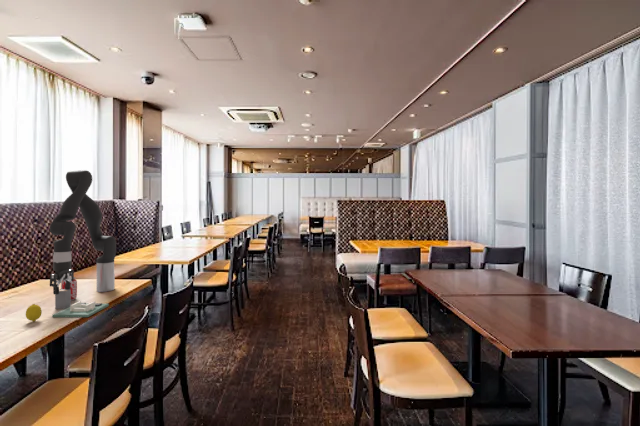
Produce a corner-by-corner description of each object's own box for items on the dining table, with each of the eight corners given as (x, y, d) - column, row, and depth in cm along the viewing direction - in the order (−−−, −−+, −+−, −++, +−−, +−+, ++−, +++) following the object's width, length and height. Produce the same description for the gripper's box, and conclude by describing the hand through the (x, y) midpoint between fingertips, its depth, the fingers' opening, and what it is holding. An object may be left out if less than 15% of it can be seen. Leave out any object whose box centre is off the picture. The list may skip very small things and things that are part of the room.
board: (77, 305, 181) (77, 297, 180) (108, 305, 182) (108, 297, 181) (52, 317, 163) (52, 308, 162) (87, 317, 164) (87, 308, 163)
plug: (60, 306, 179) (60, 289, 179) (70, 306, 179) (70, 289, 179) (55, 308, 175) (55, 290, 175) (65, 308, 175) (65, 291, 175)
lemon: (31, 319, 159) (31, 302, 159) (44, 319, 159) (44, 302, 159) (22, 323, 153) (22, 305, 153) (35, 323, 154) (35, 305, 154)
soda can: (68, 302, 187) (68, 279, 186) (57, 301, 188) (57, 279, 188) (80, 298, 194) (80, 277, 193) (69, 297, 195) (69, 276, 195)
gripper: (64, 258, 183) (64, 288, 184) (44, 262, 169) (44, 295, 169) (79, 258, 184) (78, 289, 184) (60, 262, 170) (59, 295, 170)
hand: (62, 292), depth 177 cm, fingers open, 8 cm apart
